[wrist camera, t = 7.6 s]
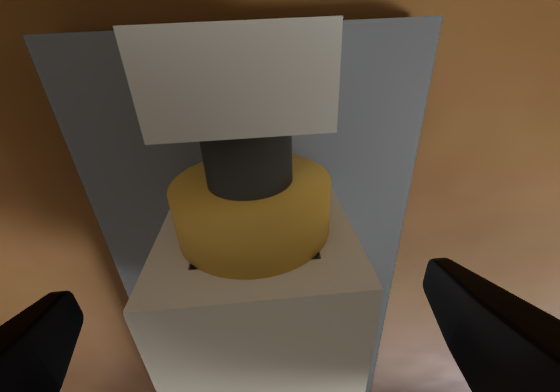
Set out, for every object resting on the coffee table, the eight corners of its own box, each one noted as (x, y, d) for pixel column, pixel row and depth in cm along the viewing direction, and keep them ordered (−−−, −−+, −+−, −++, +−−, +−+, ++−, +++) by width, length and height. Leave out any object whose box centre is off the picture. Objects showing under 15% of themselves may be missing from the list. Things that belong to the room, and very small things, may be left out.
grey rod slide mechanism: (362, 385, 17) (402, 513, 13) (184, 404, 17) (158, 546, 12) (423, 16, 8) (630, 2, 4) (47, 34, 8) (-239, 40, 3)
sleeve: (323, 277, 11) (361, 410, 7) (201, 287, 11) (173, 432, 7) (327, 178, 9) (383, 289, 5) (178, 189, 9) (121, 313, 5)
